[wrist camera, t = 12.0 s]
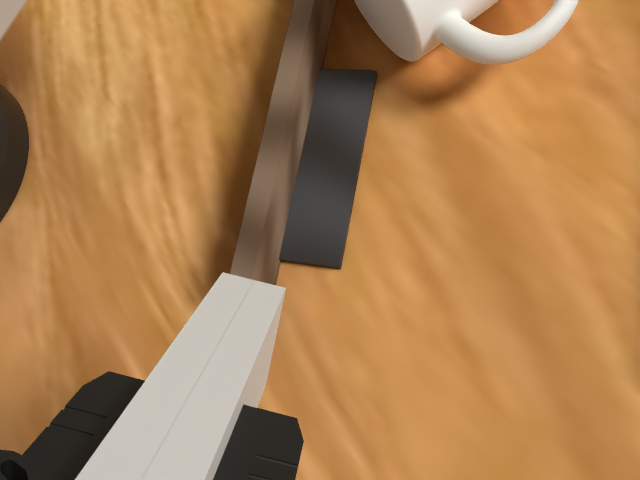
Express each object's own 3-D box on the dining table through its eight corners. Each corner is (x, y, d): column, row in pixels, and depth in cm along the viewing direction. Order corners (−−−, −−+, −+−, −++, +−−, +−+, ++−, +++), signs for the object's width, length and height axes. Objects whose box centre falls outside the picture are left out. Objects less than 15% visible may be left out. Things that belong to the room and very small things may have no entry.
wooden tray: (770, 373, 24) (843, 364, 19) (253, 292, 31) (215, 272, 26) (766, -165, 31) (819, -265, 27) (348, -133, 38) (331, -208, 34)
